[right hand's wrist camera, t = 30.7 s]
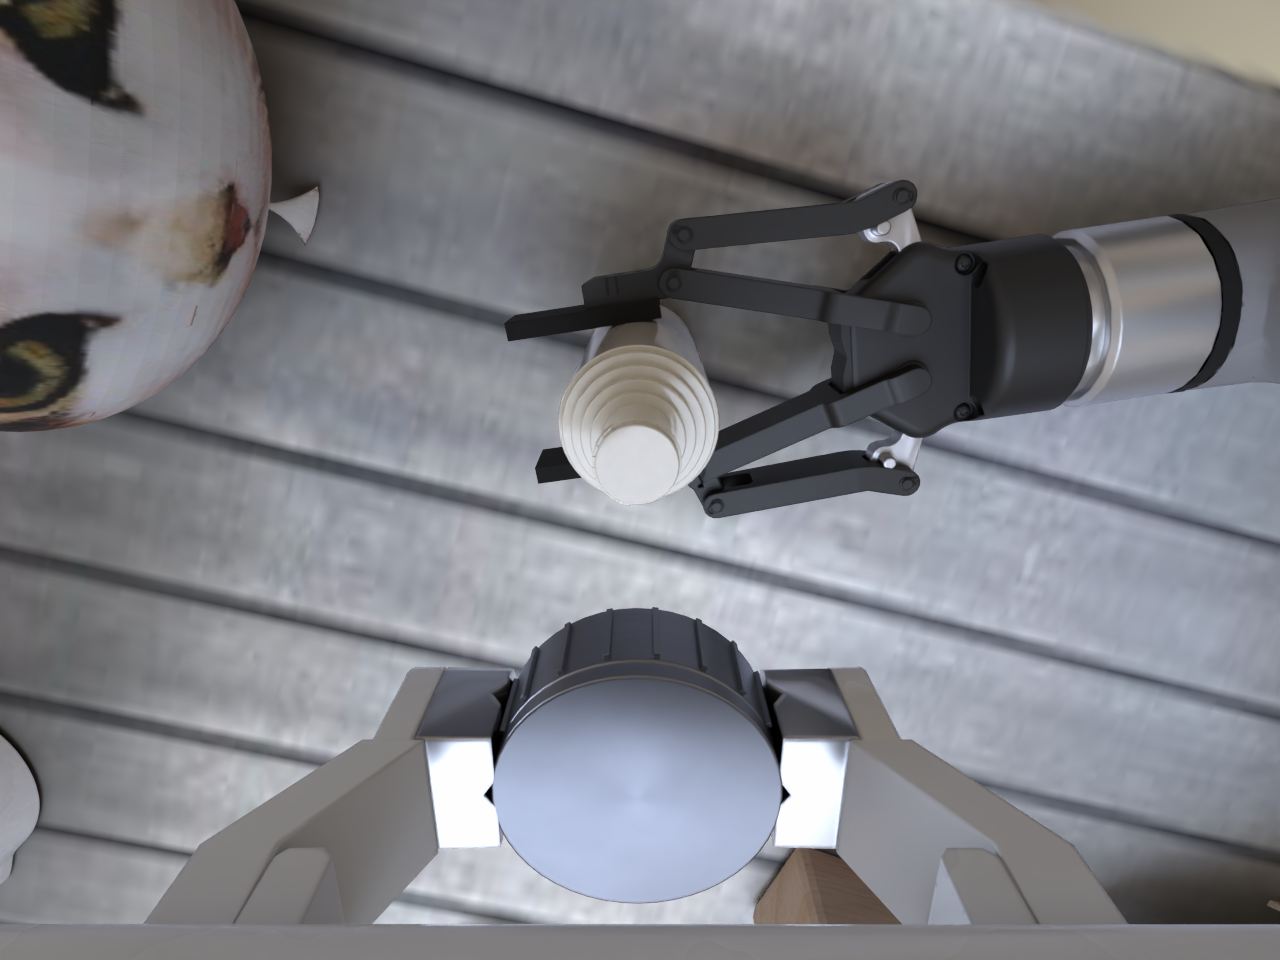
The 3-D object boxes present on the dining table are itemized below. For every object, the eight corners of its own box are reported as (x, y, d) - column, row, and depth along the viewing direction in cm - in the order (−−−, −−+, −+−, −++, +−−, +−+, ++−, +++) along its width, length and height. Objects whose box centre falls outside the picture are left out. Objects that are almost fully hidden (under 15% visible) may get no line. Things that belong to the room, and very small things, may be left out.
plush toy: (353, 495, 35) (-341, 559, 19) (208, 349, 44) (-346, 309, 28) (480, -5, 27) (-523, -616, 11) (272, -58, 36) (-448, -438, 20)
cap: (475, 772, 11) (449, 860, 9) (558, 566, 10) (542, 630, 8) (703, 842, 11) (713, 936, 10) (811, 653, 10) (840, 730, 9)
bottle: (605, 286, 36) (569, 344, 20) (709, 320, 37) (761, 404, 20) (576, 390, 38) (520, 523, 21) (675, 420, 39) (697, 574, 22)
